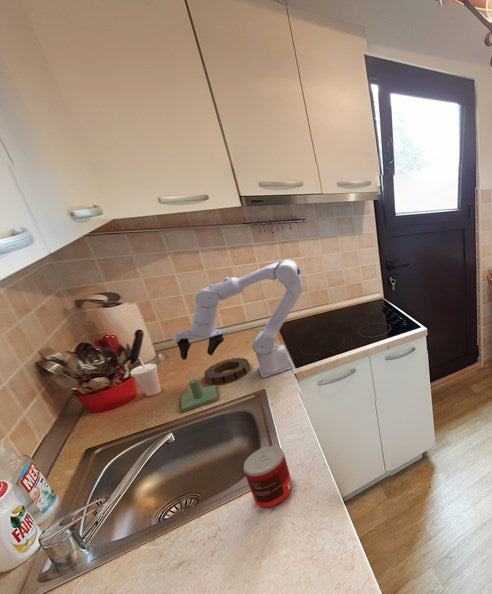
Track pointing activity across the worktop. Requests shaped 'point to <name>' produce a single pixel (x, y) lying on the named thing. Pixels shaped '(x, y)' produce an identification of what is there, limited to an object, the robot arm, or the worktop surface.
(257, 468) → the canned food
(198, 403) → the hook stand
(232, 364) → the walnut ring
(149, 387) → the smoothie
